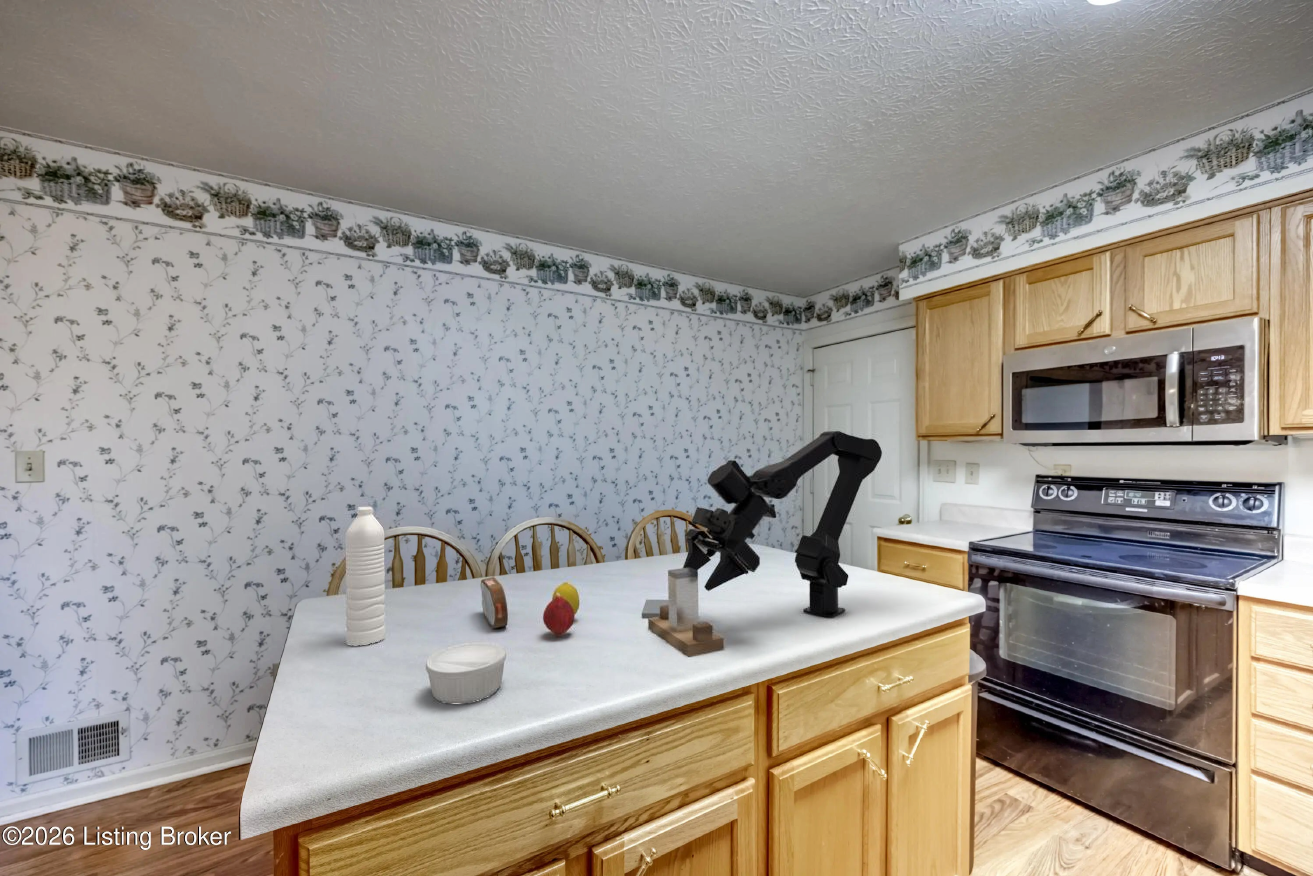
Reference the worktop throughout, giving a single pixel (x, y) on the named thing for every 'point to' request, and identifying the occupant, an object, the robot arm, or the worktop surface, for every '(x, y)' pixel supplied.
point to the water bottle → (365, 579)
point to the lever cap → (683, 599)
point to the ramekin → (466, 672)
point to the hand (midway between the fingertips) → (693, 583)
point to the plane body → (686, 635)
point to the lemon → (568, 595)
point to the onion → (558, 615)
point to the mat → (653, 608)
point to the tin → (494, 602)
